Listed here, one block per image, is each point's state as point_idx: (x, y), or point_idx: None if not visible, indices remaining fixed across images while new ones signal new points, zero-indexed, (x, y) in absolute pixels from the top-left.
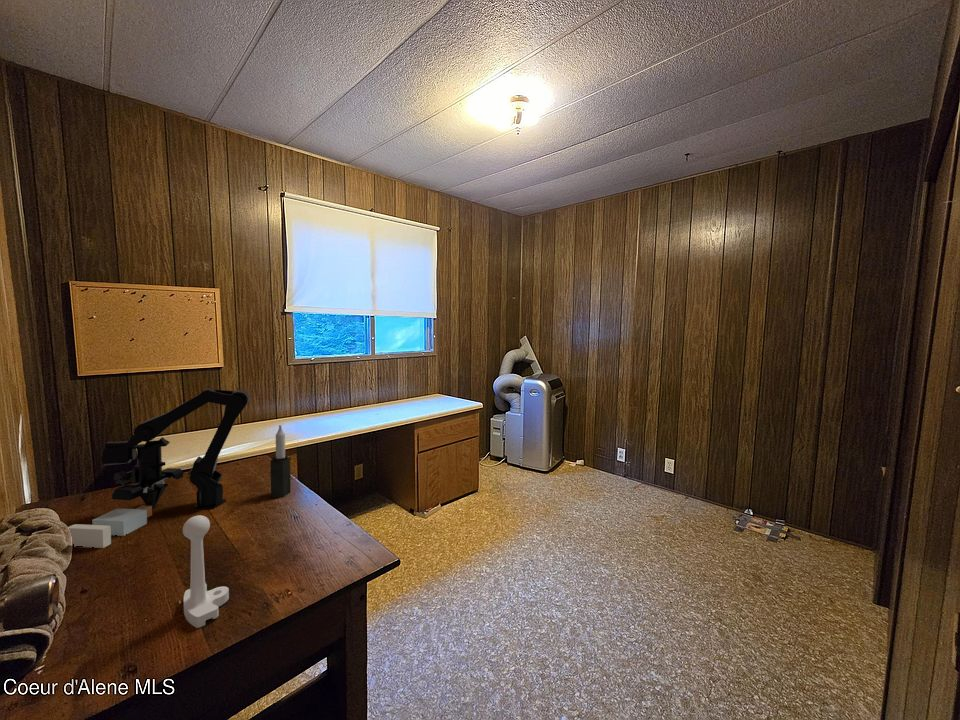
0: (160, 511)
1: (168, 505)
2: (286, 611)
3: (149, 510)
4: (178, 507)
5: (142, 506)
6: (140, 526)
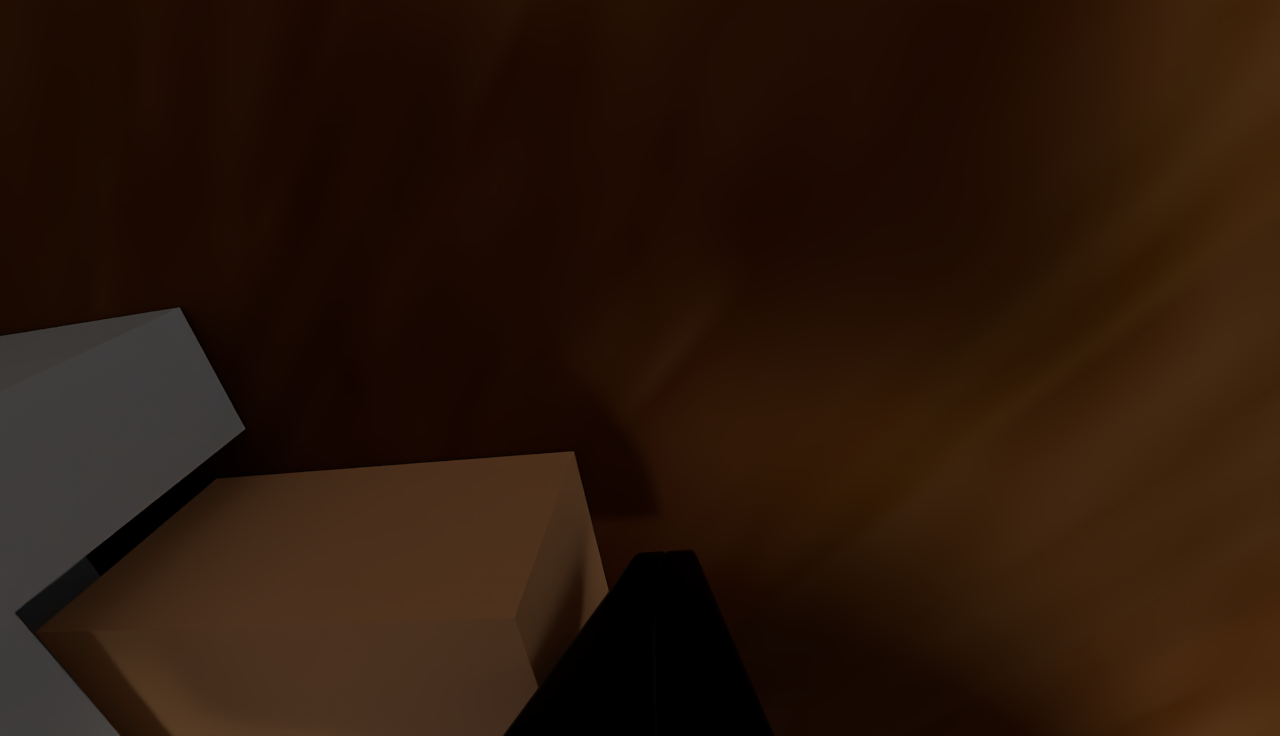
0: (773, 602)
1: (1064, 532)
2: None
3: None
4: (971, 727)
5: (465, 663)
6: None
